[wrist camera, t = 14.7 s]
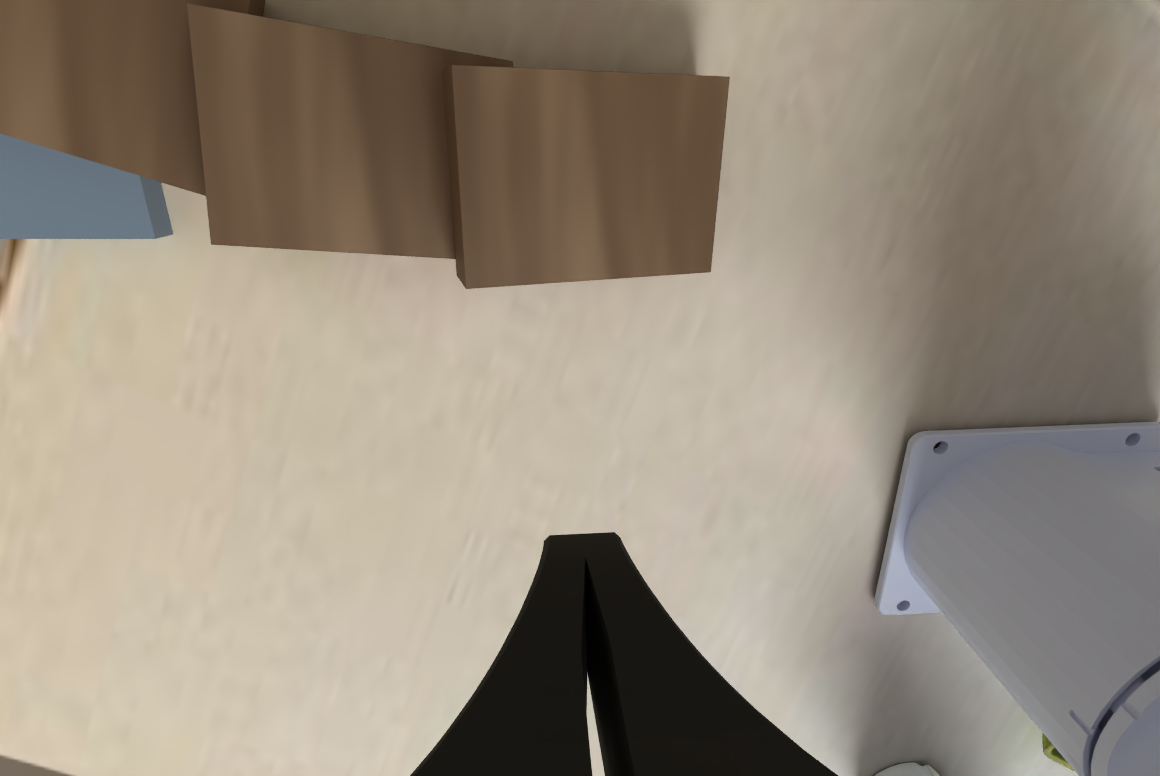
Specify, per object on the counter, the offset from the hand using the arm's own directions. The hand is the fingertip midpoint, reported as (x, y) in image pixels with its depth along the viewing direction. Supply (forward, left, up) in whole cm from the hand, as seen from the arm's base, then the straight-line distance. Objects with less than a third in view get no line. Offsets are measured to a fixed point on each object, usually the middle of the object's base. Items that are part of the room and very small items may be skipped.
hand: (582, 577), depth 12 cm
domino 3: (-4, -7, -9) cm, 12 cm away
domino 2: (+2, -7, -9) cm, 11 cm away
